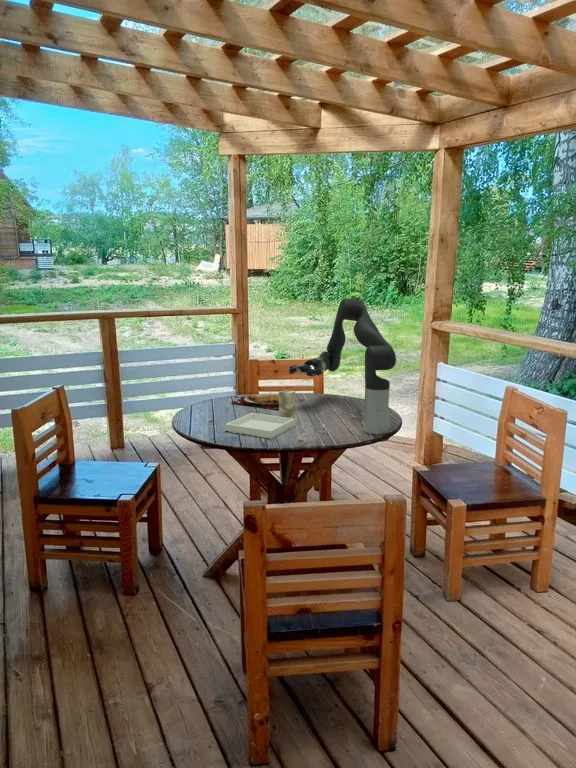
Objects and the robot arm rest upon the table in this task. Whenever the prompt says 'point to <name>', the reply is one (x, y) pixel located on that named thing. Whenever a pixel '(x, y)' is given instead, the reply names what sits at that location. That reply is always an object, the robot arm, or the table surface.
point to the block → (287, 404)
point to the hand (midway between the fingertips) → (299, 372)
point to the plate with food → (261, 400)
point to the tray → (260, 425)
